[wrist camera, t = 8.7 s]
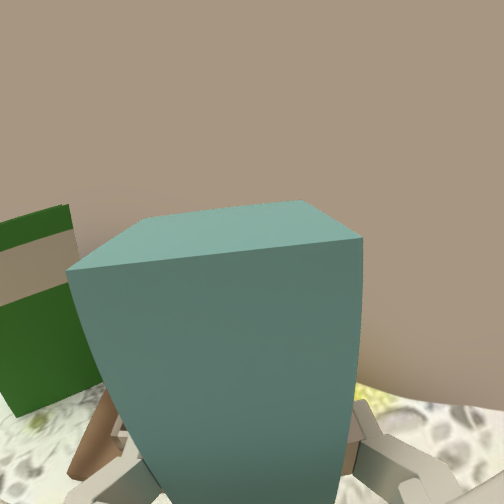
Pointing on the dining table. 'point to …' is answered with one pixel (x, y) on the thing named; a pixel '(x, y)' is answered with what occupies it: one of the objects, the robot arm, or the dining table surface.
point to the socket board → (99, 441)
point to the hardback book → (40, 313)
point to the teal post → (230, 348)
